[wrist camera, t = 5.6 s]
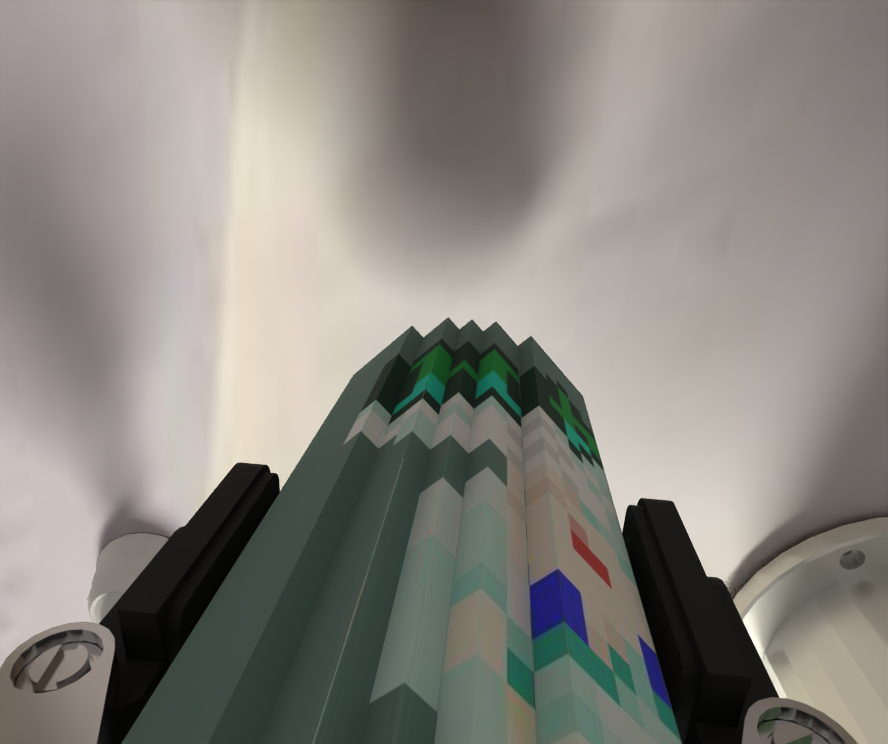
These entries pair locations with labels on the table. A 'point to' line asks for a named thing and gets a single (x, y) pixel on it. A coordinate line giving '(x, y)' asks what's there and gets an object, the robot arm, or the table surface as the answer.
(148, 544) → the chalice
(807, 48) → the table surface
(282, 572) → the can
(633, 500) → the table surface
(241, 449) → the table surface
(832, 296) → the table surface
